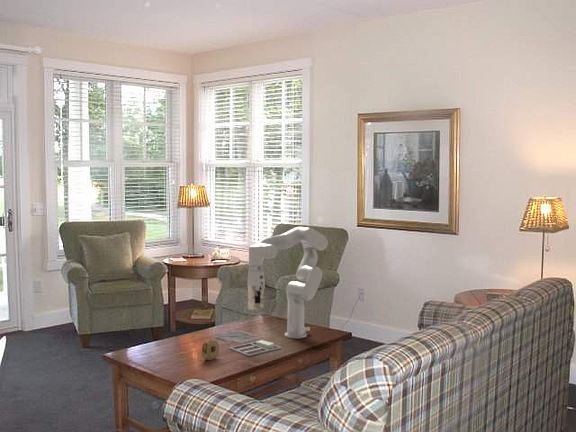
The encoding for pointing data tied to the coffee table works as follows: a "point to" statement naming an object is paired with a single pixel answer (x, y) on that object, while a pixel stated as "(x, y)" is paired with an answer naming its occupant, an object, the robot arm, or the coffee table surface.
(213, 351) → the tan rounded piece
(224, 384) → the coffee table surface
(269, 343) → the upper offcut
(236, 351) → the rack
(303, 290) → the robot arm
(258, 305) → the birch board
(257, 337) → the picture frame
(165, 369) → the coffee table surface
